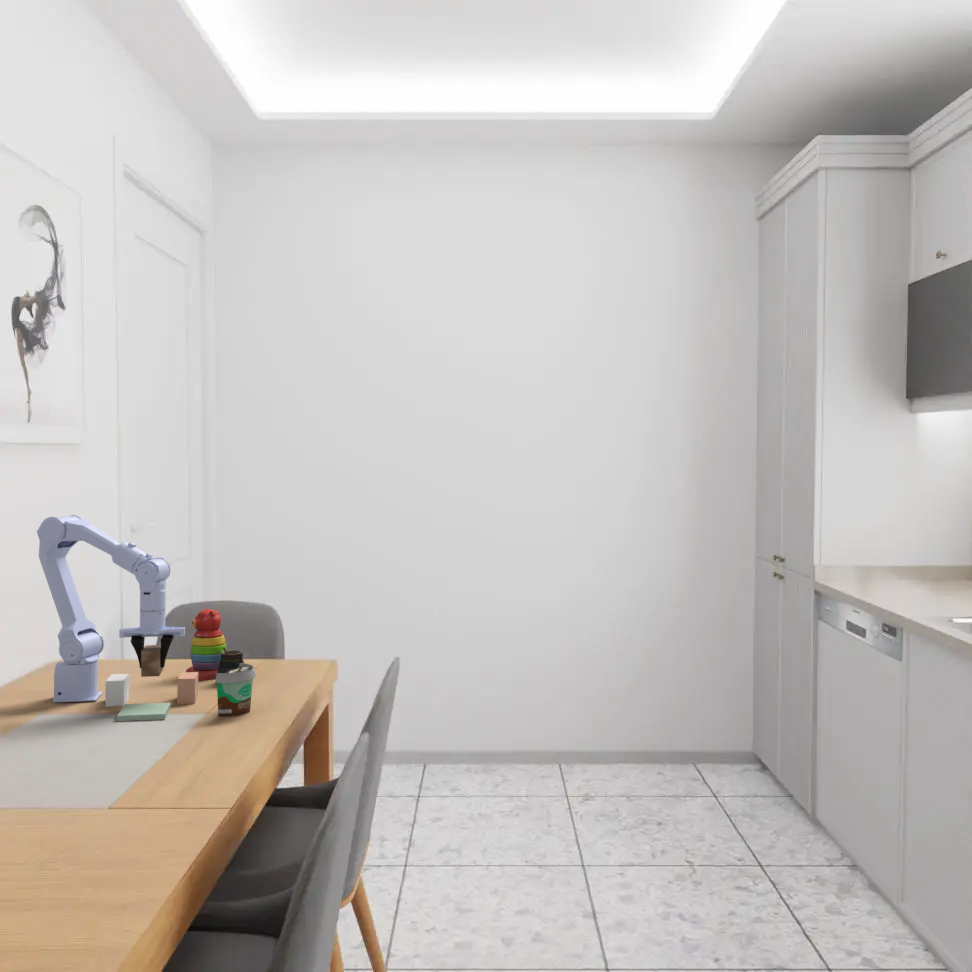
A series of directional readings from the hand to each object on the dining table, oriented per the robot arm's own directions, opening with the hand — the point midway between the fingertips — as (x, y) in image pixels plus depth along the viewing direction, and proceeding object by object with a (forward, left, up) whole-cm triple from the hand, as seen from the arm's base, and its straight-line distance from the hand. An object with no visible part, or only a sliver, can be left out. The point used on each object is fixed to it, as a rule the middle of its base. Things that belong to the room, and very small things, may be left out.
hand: (152, 667), depth 219 cm
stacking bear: (+10, +28, -9) cm, 31 cm away
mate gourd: (+17, +19, -9) cm, 27 cm away
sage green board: (0, -10, -8) cm, 13 cm away
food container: (+21, -11, -9) cm, 25 cm away
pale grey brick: (-8, +2, -8) cm, 12 cm away
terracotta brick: (+8, +2, -8) cm, 12 cm away
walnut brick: (0, 0, -1) cm, 1 cm away
